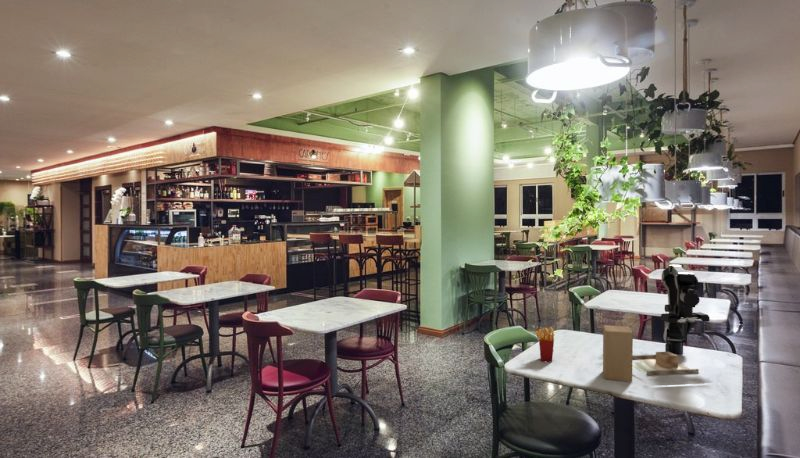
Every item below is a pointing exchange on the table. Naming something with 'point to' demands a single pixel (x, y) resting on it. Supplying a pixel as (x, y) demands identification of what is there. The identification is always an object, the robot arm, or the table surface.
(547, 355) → the french fries
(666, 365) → the walnut block
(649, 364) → the trap board
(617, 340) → the wooden block
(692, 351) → the table surface
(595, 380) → the table surface
